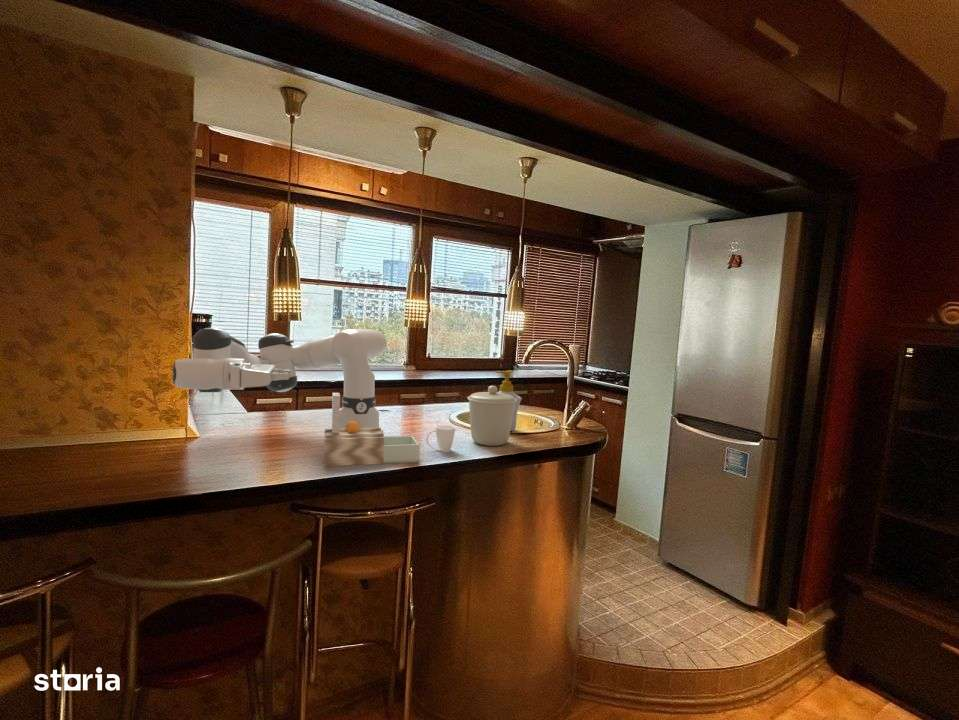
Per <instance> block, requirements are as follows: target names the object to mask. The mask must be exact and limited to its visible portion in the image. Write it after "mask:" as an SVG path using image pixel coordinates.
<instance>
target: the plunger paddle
mask: <svg viewBox="0 0 959 720" xmlns="http://www.w3.org/2000/svg"><path fill="white" fill-rule="evenodd" d="M331 399H332V400H331V401H332V403H331V404H332V405H331V406H332V407H331V409H332V410H331V429H332V434H339V421H340V410H341V394H340V392H332V398H331Z"/></svg>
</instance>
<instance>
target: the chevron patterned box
mask: <svg viewBox="0 0 959 720" xmlns="http://www.w3.org/2000/svg"><path fill="white" fill-rule="evenodd" d="M381 429H382V427H379V428H359V430H358V432H357V433H355V434H349V433H348V432H347V431H346V428H345V429H339V434H332V428H324V440H323V441H324V442H323V443H324V444H323V445H324V446H323V447H324V448H323V449H324V450H323V458H324V459H323V462H324V467H338V466H339V467H340V466H341V467H342V466H360V465H384V464H383V463H384V435H385V433H384V432H383V433H382V432H381Z"/></svg>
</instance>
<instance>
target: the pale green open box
mask: <svg viewBox="0 0 959 720" xmlns="http://www.w3.org/2000/svg"><path fill="white" fill-rule="evenodd" d="M419 462H420V443H419V442H418V441H417V439H416V438H415V437H414V435H395V436H394V435H392V436H390V435H389V436H388V435H387V436H384V463H383V464H382V465H385V464H387V465H388V464H405V463H406V464H409V463H419Z"/></svg>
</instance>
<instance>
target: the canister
mask: <svg viewBox="0 0 959 720" xmlns="http://www.w3.org/2000/svg"><path fill="white" fill-rule="evenodd" d="M498 390H499V389H498V387H497V386H496V385H490V386H488V388H487V391H478V392H474V393H472V394H470V395H468V396H467V397H466V398H467V400H468V407H469V424H470V435H471V439H472V440H473V442H475V443H476V444H478V445H481V446H487V447H488V446H489V447H499V446H503V445H505V444H506V443H507V442H508V441H509V438H510V435H511V432H510V430H511V425H512V419H513V413H514V407H515V403H516V402H517V399H515V398H514V397H513V396H511V395H509V394H505V393H498V392H499V391H498Z"/></svg>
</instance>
